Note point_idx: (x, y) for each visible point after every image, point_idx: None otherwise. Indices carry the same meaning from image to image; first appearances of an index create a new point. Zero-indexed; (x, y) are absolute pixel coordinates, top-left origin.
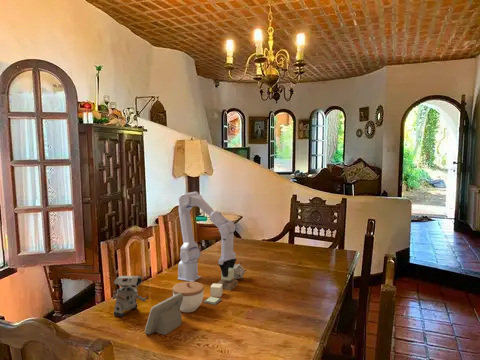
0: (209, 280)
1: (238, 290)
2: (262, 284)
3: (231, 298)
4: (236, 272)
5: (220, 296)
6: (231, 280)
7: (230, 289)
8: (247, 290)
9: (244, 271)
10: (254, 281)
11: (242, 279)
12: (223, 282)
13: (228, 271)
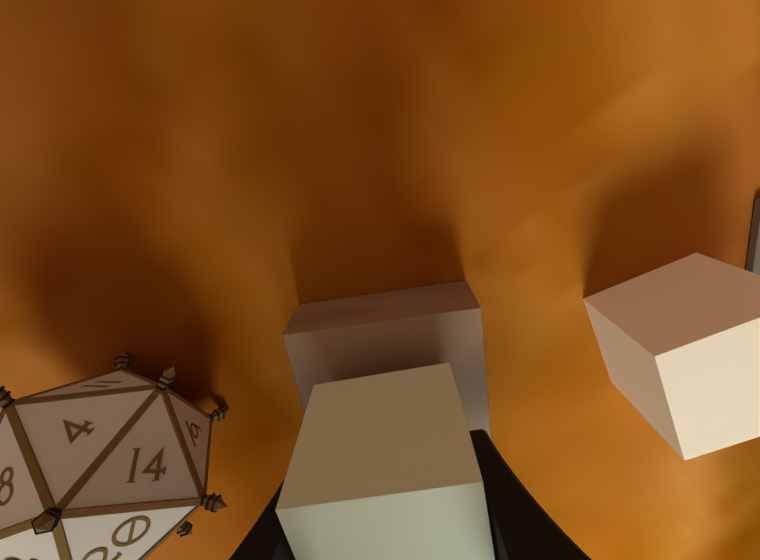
0: None
1: (413, 206)
2: (37, 58)
3: (677, 123)
4: (160, 451)
5: (697, 257)
6: None
7: (467, 284)
8: (345, 109)
9: (27, 398)
10: (54, 215)
11: (127, 356)
12: None
13: (484, 497)
